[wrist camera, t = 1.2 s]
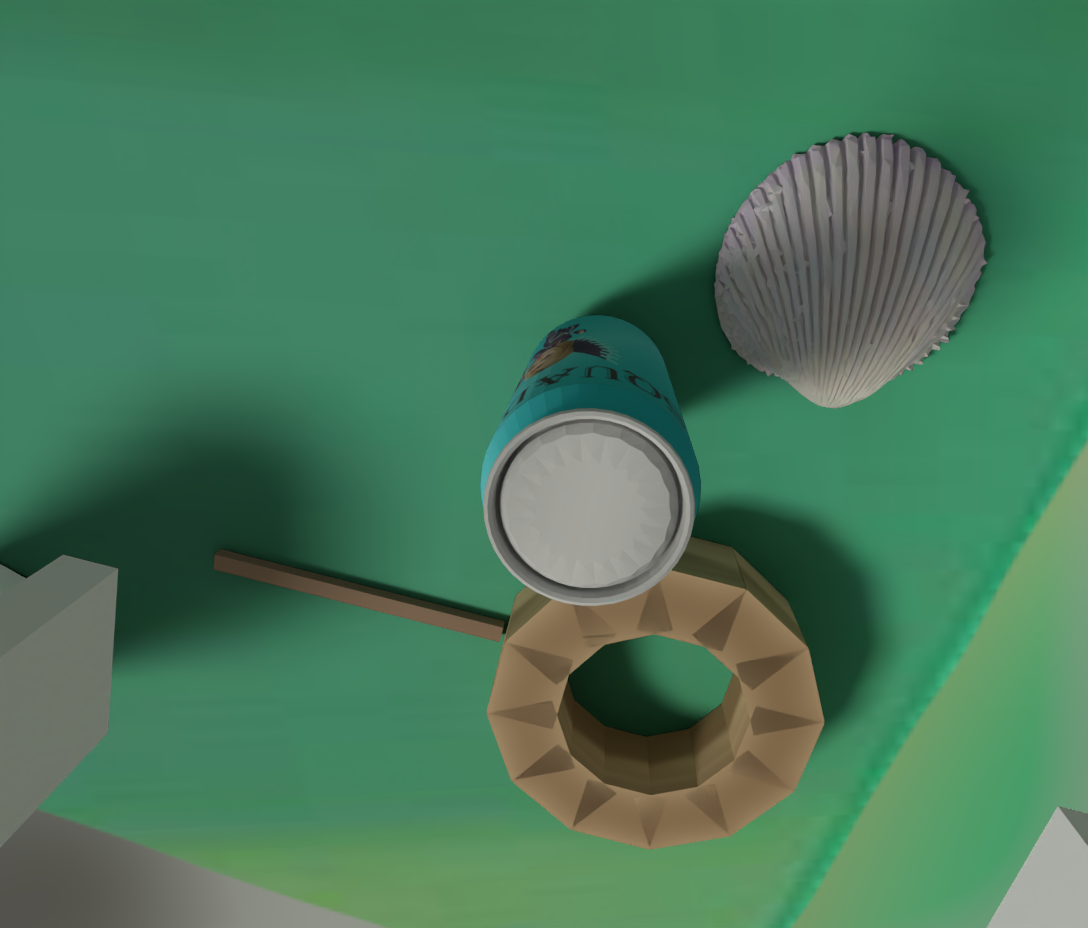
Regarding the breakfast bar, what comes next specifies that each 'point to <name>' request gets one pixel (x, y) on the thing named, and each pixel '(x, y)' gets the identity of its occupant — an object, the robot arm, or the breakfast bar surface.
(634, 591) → the beverage can
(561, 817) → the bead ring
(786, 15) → the breakfast bar surface
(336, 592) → the brown stick
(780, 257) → the seashell
